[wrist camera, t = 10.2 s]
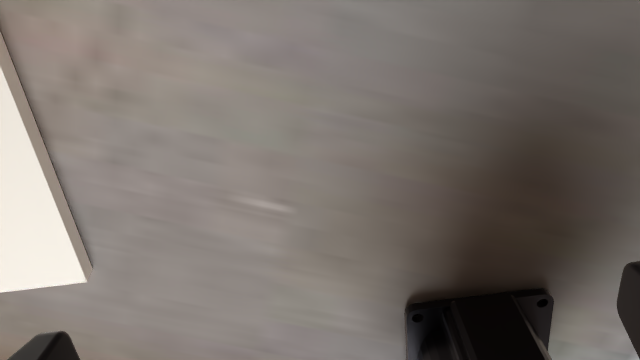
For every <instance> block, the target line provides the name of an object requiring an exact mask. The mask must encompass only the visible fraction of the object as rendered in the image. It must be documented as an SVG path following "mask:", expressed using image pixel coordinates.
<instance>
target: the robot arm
mask: <svg viewBox="0 0 640 360" xmlns="http://www.w3.org/2000/svg"><path fill="white" fill-rule="evenodd" d="M540 299H543V300H541V301H539V300H540ZM538 301H539V302H538ZM553 303H554V301H553V298H552V296H551V294H550V293H549V291H548V290H546V289H531V290H523V291H515V292H506V293H498V294H490V295H481V296H473V297H465V298H457V299H448V300H440V301H432V302H423V303H415V304H412V305H410V306H408V307H407V308H406V310H405V333H406V355H407V360H552V359H551V357H550V355H549V353H548V352H547V351H548V343H549V335H550V327H551V319H552V311H553ZM617 310H618V314H619V317H620V319H621V321H622V323H623V325H624V327H625V329H626V331H627V333H628V336H629V338H630V340H631V342H632V344H633V346H634V348H635V350H636V352H637V354H638V356H639V358H640V261H637V262H630V263H628V264H627V265H626V266H625V267H624V269H623V273H622V278H621V283H620V288H619V293H618V298H617ZM415 314H420V315H418V316H414V315H415ZM7 360H80V358H79V356H78V354H77V352H76V349H75V347H74V345H73V343H72V340H71V338H70V336H69V335H68V334H67V333H66V332H65V331H54V332H46V333H41V334H38V335H36V336H35V337H34V338H32V339H31V340H30V341H29V342H28V343H26V344H25V345H24V346H23V347H22V348H20V349H19V350H18V351H17V352H16V353H14V354H13V355H12V356H11V357H10V358H8V359H7Z"/></svg>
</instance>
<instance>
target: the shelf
mask: <svg viewBox="0 0 640 360" xmlns="http://www.w3.org/2000/svg"><path fill="white" fill-rule="evenodd" d="M92 270H93V268H92V266H91V263H90V261H89V258H88V255H87V253H86V250H85V248H84V245H83V243H82V240H81V237H80V235H79V232H78V230H77V227H76V225H75V222H74V219H73V217H72V214H71V212H70V209H69V207H68V204H67V201H66V199H65V196H64V194H63V191H62V189H61V186H60V183H59V181H58V178H57V176H56V173H55V171H54V168H53V165H52V163H51V160H50V158H49V155H48V153H47V150H46V147H45V145H44V142H43V140H42V137H41V135H40V132H39V129H38V127H37V124H36V122H35V119H34V117H33V114H32V111H31V109H30V106H29V104H28V101H27V99H26V96H25V93H24V91H23V88H22V86H21V83H20V81H19V78H18V75H17V73H16V70H15V68H14V65H13V63H12V60H11V57H10V55H9V52H8V50H7V47H6V44H5V42H4V39H3V37H2V34H1V32H0V292H8V291H17V290H25V289H33V288H42V287H50V286H58V285H66V284H75V283H83V282H87V281H88V279H89V277H90V275H91V273H92Z"/></svg>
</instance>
